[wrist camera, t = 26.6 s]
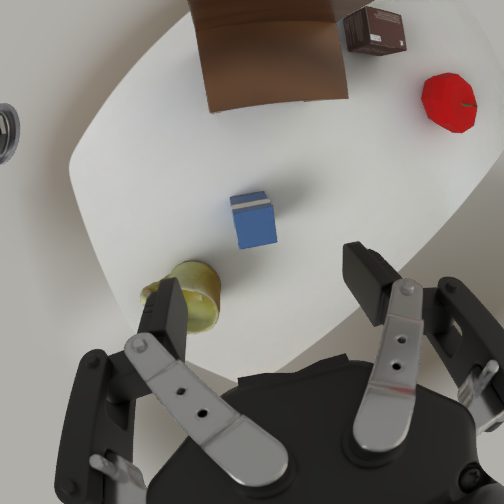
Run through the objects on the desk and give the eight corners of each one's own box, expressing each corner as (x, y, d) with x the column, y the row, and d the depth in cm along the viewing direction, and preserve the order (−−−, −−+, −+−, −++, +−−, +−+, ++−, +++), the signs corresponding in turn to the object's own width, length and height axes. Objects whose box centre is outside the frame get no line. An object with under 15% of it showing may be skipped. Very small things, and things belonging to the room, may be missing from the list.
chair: (311, 101, 34) (392, 98, 17) (211, 113, 34) (206, 112, 16) (301, 37, 29) (371, -11, 12) (200, 48, 29) (185, -12, 11)
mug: (239, 266, 43) (222, 317, 36) (219, 301, 50) (203, 347, 42) (167, 233, 42) (138, 279, 34) (158, 273, 48) (134, 316, 41)
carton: (268, 222, 42) (277, 242, 36) (235, 228, 42) (239, 250, 36) (264, 190, 40) (273, 206, 34) (229, 197, 40) (232, 213, 34)
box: (376, 24, 28) (402, 15, 22) (380, 57, 31) (408, 51, 25) (341, 18, 28) (364, 4, 21) (346, 51, 31) (371, 43, 24)
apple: (450, 76, 32) (489, 79, 23) (454, 130, 37) (492, 140, 29) (410, 68, 32) (450, 66, 23) (415, 128, 37) (456, 137, 28)
